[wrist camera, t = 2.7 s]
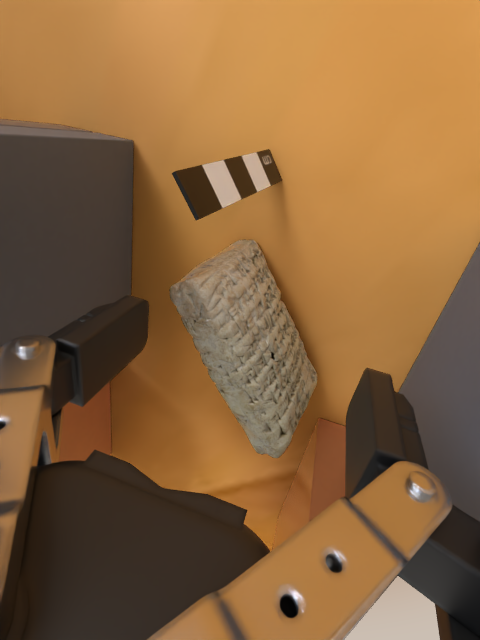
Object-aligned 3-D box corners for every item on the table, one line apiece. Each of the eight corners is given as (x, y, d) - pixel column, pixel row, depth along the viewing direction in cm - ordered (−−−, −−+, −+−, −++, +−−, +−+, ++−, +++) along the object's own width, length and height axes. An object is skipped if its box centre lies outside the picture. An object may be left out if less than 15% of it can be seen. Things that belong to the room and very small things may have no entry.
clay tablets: (87, 443, 29) (18, 521, 23) (79, 337, 23) (-14, 402, 17) (308, 529, 26) (296, 645, 20) (357, 429, 20) (363, 548, 14)
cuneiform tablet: (269, 149, 15) (360, 368, 18) (197, 193, 17) (289, 377, 21) (175, 171, 9) (330, 478, 13) (91, 230, 12) (239, 471, 15)
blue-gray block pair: (74, 311, 22) (-69, 397, 14) (59, 124, 17) (-182, 100, 9) (464, 436, 18) (551, 642, 11) (605, 244, 13) (989, 380, 5)
